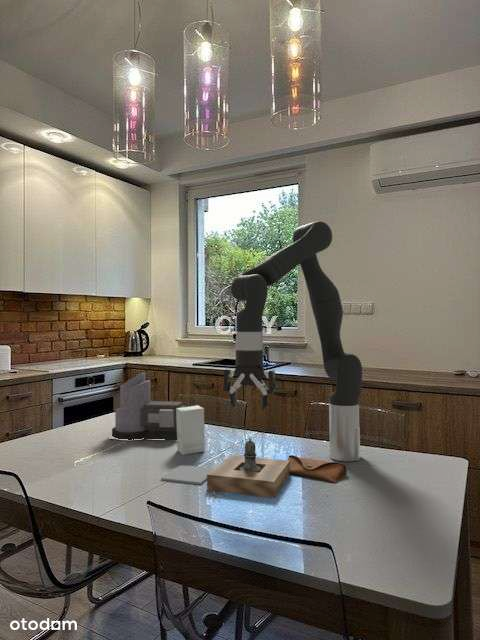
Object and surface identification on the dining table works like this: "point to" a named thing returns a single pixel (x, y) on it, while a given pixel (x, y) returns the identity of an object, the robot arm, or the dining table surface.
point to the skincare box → (190, 429)
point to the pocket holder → (249, 477)
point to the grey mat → (188, 474)
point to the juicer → (144, 413)
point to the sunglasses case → (316, 469)
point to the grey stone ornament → (250, 458)
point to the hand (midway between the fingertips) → (249, 407)
